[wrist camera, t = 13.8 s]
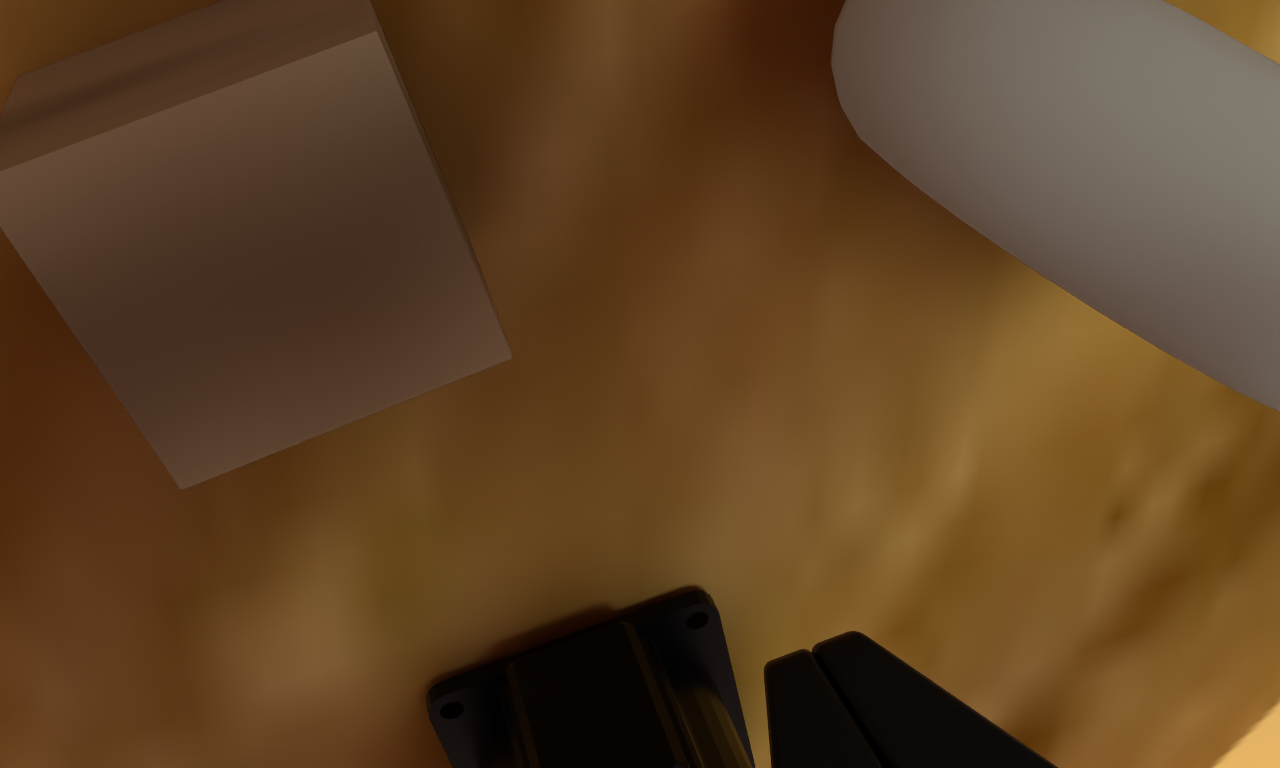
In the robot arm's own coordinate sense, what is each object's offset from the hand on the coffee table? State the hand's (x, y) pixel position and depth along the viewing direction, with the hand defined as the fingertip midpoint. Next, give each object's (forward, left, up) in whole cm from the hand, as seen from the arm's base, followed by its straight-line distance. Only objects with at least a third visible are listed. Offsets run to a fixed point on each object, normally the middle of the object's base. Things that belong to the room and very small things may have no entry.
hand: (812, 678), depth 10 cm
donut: (-1, -8, -12) cm, 15 cm away
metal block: (+1, +4, -12) cm, 13 cm away
